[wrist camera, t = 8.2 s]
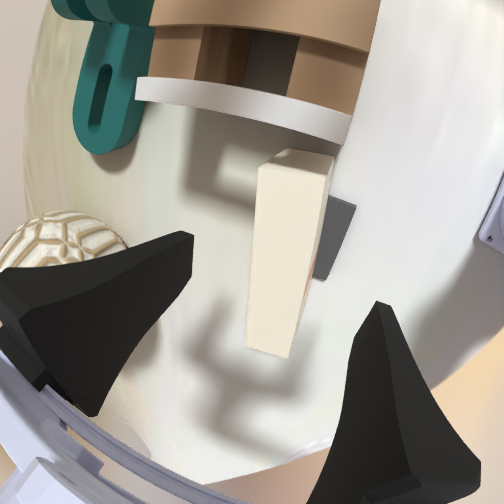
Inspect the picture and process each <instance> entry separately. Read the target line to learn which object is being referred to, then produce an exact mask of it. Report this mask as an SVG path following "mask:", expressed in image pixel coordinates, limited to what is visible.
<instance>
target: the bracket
mask: <svg viewBox="0 0 504 504" xmlns="http://www.w3.org/2000/svg"><path fill="white" fill-rule="evenodd" d="M154 1H155V0H51V3H52V6H53V8H54V9H55V11H56V12H57V13H58V14H59V15H60V16H62V17H64V18H66V19H70V20H85V21H93V22H94V26H93V29H92V32H91V35H90V38H89V42H88V45H87V48H86V52H85V56H84V59H83V63H82V67H81V71H80V75H79V80H78V84H77V89H76V94H75V100H74V105H73V125H74V130H75V133H76V136H77V138H78V140H79V142H80V143H81V145H82V146H83V147H84V148H85V149H86V150H87V151H89V152H91V153H93V154H98V155H99V154H104V153H107V152H110V151H113V150H116V149H118V148H121V147H124V146H125V145H127V144H128V143H129V142H130V141H131V140H132V139H133V138H134V136H135V134H136V132H137V130H138V128H139V125H140V121H141V117H142V113H143V110H144V106H145V103H146V101H143V100H135V94H136V85H137V77H148V71H149V65H150V59H151V53H152V47H153V42H154V36H155V31H156V27H153V26H149V23H150V18H151V14H152V9H153V5H154Z"/></svg>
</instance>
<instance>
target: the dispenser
mask: <svg viewBox="0 0 504 504" xmlns="http://www.w3.org/2000/svg"><path fill="white" fill-rule="evenodd" d="M380 2H381V0H155V1H154V5H153V9H152V14H151V18H150V23H149V26H153V27H156V31H155V36H154V42H153V47H152V53H151V59H150V65H149V71H148V77H137V85H136V94H135V100H143V101H152V102H160V103H168V104H175V105H182V106H189V107H195V108H201V109H206V110H212V111H217V112H222V113H227V114H232V115H237V116H241V117H245V118H250V119H254V120H258V121H262V122H266V123H270V124H274V125H278V126H282V127H285V128H289V129H292V130H296V131H299V132H303V133H306V134H309V135H312V136H316V137H319V138H322V139H325V140H328V141H331V142H334V143H337V144H340V145H343V146H344V143H345V139H346V136H347V133H348V129H349V126H350V123H351V119H352V115H353V112H354V108H355V105H356V101H357V98H358V94H359V90H360V86H361V83H362V79H363V75H364V71H365V67H366V63H367V59H368V55H369V51H370V47H371V43H372V39H373V34H374V30H375V25H376V21H377V16H378V11H379V6H380ZM254 29H255V30H263V31H270V32H277V33H283V34H289V35H295V36H300V40H299V44H298V48H297V52H296V57H295V61H294V65H293V69H292V73H291V78H290V82H289V86H288V90H287V94H286V97H285V96H281V95H277V94H272V93H268V92H263V91H258V90H253V89H248V88H243V87H241V86H242V81H243V76H244V71H245V67H246V62H247V57H248V53H249V48H250V44H251V39H252V35H253V31H254Z"/></svg>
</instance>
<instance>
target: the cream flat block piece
mask: <svg viewBox="0 0 504 504" xmlns="http://www.w3.org/2000/svg"><path fill="white" fill-rule="evenodd" d="M333 164H334V156H329V155H323V154H318V153H313V152H307V151H302V150H296V149H289V148H286V149H285V150H283V151H282V152H280V153H279V154H277V155H276V156H274V157H273V158H272V159H270V160H269V161H267V162H266V163H264V164H263V165H262V166H260V167H259V168H258V180H257V193H256V207H255V221H254V234H253V248H252V261H251V275H250V288H249V302H248V315H247V329H246V342H245V346H247V347H250V348H253V349H256V350H259V351H263V352H266V353H269V354H273V355H276V356H280V357H283V358H287V359H288V356H289V353H290V350H291V347H292V344H293V342H294V339H295V336H296V333H297V330H298V327H299V324H300V320H301V317H302V314H303V311H304V308H305V304H306V300H307V296H308V292H309V287H310V283H311V279H312V274H313V270H314V265H315V260H316V256H317V251H318V246H319V241H320V236H321V231H322V226H323V221H324V216H325V211H326V205H327V200H328V194H329V188H330V182H331V176H332V170H333Z"/></svg>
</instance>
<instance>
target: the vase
mask: <svg viewBox="0 0 504 504" xmlns="http://www.w3.org/2000/svg"><path fill="white" fill-rule="evenodd" d="M124 249H127V247H126V245H125V244H124V242H123V241H122V240H121V239H120V237H119V236H118V235H117V234H116V233H115V232H114V231H113V230H112V229H111V228H109V227H108V226H107V225H105V224H104V223H103V222H101V221H100V220H98V219H96V218H94V217H92V216H90V215H87V214H85V213H82V212H76V211H53V212H48V213H45V214H42V215H39V216H36V217H34V218H32V219H30V220H28V221H26V222H25V223H23V224H22V225H21V226H19V227H18V228H17V229H16V230H15V231H14V232H13V233H12V234H11V235H10V236H9V237H8V238H7V240H6V241H5V242H4V243H3V244H2V246H1V247H0V272H1V271H2V270H4V269H5V268H7V267H42V266H54V265H62V264H68V263H74V262H80V261H85V260H89V259H93V258H98V257H102V256H105V255H109V254H112V253H115V252H118V251H121V250H124ZM2 325H3V324H2V323H1V321H0V327H1V326H2Z"/></svg>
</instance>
